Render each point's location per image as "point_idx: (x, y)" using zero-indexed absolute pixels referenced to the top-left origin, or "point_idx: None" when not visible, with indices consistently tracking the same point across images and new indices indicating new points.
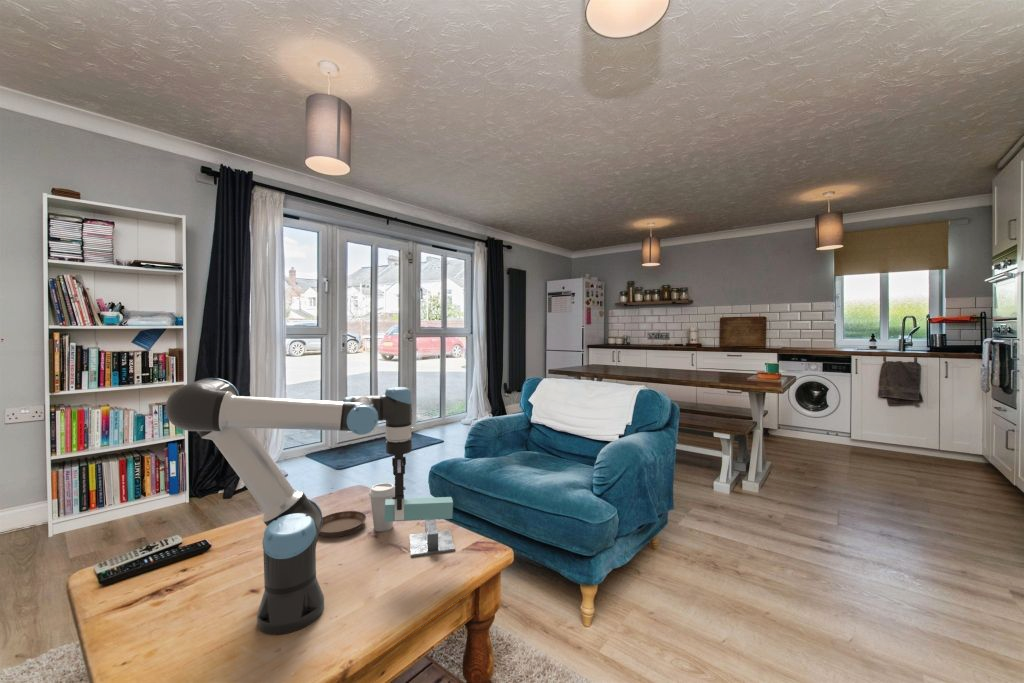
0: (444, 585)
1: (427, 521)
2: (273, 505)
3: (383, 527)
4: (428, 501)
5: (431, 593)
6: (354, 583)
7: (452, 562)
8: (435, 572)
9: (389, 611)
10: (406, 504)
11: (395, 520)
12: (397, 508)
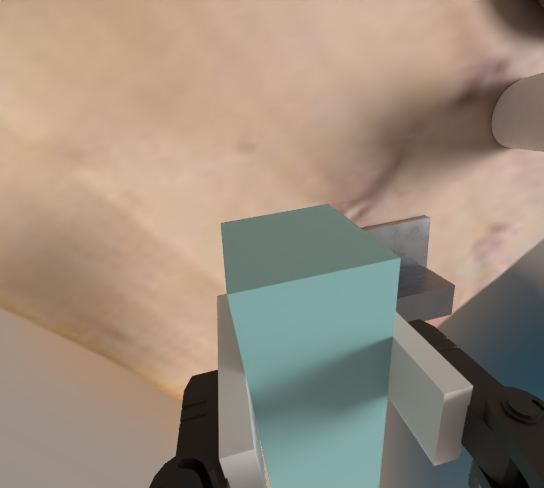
0: (148, 346)
1: (434, 296)
2: None
3: (504, 119)
4: None
5: (109, 322)
6: (160, 76)
7: None
8: (213, 316)
9: (6, 230)
10: (261, 442)
11: (219, 300)
12: (185, 397)
